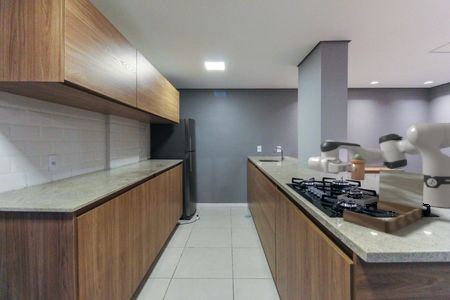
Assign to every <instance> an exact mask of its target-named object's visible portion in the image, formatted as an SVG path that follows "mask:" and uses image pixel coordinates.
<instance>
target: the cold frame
mask: <svg viewBox="0 0 450 300" xmlns="http://www.w3.org/2000/svg"><path fill="white" fill-rule="evenodd" d="M378 179H379V182H378V183H379V184H378V201H377V203H376V205H377V206H376V207H377V210H381V211H386V212H389V211H392V212H391V213H393V212H395V213H394V214H397V213H398V215H397V216H395V217H393V218H390V219H388V220H385V219H381V218H378V217H374V216H370V215H366V214H363V213H362V214H361V213H359V212H358V213H357V212H355V211H351V210H346V209H344V210H343V212H342V213H343V216H342V217H343V219H342V220H343V221H344V222H347V223H351V224H354V225H357V226H360V227H363V228H368V229H371V230H374V231H377V232H381V233H384V234H388V235H390V234H391V233H394V232H395V231H398V230H400V229H401V228H403V227H406V226H408V225H410V224H412V223H415V222H416V221H419V220H422V218H423V217H422V216H423V208H424V207H423V205H424V204H423V187H424V174H422V172H421V173H420V172H413V171H412V172H410V171H401V170H400V171H399V170H393V169H381V168H380V169H379V178H378Z"/></svg>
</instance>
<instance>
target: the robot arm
mask: <svg viewBox="0 0 450 300" xmlns="http://www.w3.org/2000/svg"><path fill="white" fill-rule="evenodd" d="M405 134H406V136H405V137H406V138H405V139H403V138H404V137H403V136H400V135H399V134H396V133H386V134H384V135H382V136H380V137H379V138H378V144H379V147H380V149H379V148H375V147H367V148H363V147H362V146H361V144H358V143H353V142H344V141H336V140H332V139H327V140H324V141H322V143H321V144H320V152H321V154H320V155H321V156H310V157H309V158H308V160H307V167H308V169H309V170H311V171H314V172H319V173H325V174H334V175H337V174H340V173H344V172H351V171H356V170H357V168H356V167H351V161H342V160H341V159H340V149H342V150H343V149H344V150H347V152H348V154H349V157H350V160H351V159H354V158H355V155H356V154H360V155H361V156H362V158H361V159H366V163H365V167H369V166H374V165H377V164H380V163H382V166H384V167H386V168H387V169H388V170H393V171H399V170H401V169H403V168H406V167H407V166H408V159H407V157H406V154H407V155H411V156H416V155H420V157H421V164H422V165H421V166H422V169H421V171H422V172H421V174H424V187H423V203H424V204H429V205H430V207H435V208H448V209H450V156H449V155H447V154H445V153H443V152H442V151H441V150H442V149H446V148H450V122H424V123H416V124H412V125H410V126H409V128H408V129H407V131H406V133H405ZM424 204H423V205H424ZM429 205H428V206H429Z"/></svg>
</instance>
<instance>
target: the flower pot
mask: <svg viewBox="0 0 450 300" xmlns="http://www.w3.org/2000/svg"><path fill="white" fill-rule="evenodd" d="M361 158H362V156H361V155H360V154H356V155H355V158H354V159H351V158H350V162H351V167H356V168H357V170H356V171H350V179H351V180H353V181H365V175H366V173H365V172H366V166H365V163H366V159H361Z"/></svg>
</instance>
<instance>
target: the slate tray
mask: <svg viewBox="0 0 450 300" xmlns="http://www.w3.org/2000/svg"><path fill="white" fill-rule="evenodd" d="M348 195H349V194H348V193H343V194H340V195H337V201H338V200H341V199H345V200H352V201H355V202H356V203H358V204H359V205H361V206H360V207H363V206H364V207H367V206H366V204H371V203H374V202H377V201H378V200H379V196H373V195H372V196H371V195H367V194H362V197H363V198H361V199H353V198H348V197H347V196H348ZM374 204H375V203H374ZM371 205H372V204H371Z"/></svg>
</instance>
